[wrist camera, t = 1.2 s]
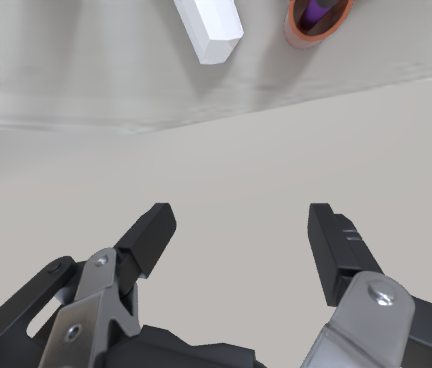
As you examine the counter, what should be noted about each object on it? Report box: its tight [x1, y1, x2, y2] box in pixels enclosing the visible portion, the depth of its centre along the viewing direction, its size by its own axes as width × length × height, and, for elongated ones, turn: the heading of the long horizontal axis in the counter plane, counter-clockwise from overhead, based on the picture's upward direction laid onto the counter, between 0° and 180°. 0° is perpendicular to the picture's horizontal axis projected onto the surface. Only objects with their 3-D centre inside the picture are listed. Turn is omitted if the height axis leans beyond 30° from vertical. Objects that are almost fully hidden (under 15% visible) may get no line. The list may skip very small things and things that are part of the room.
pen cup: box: [284, 0, 354, 49], centre depth 21 cm, size 6×6×6 cm
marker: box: [300, 0, 339, 30], centre depth 19 cm, size 2×2×11 cm
